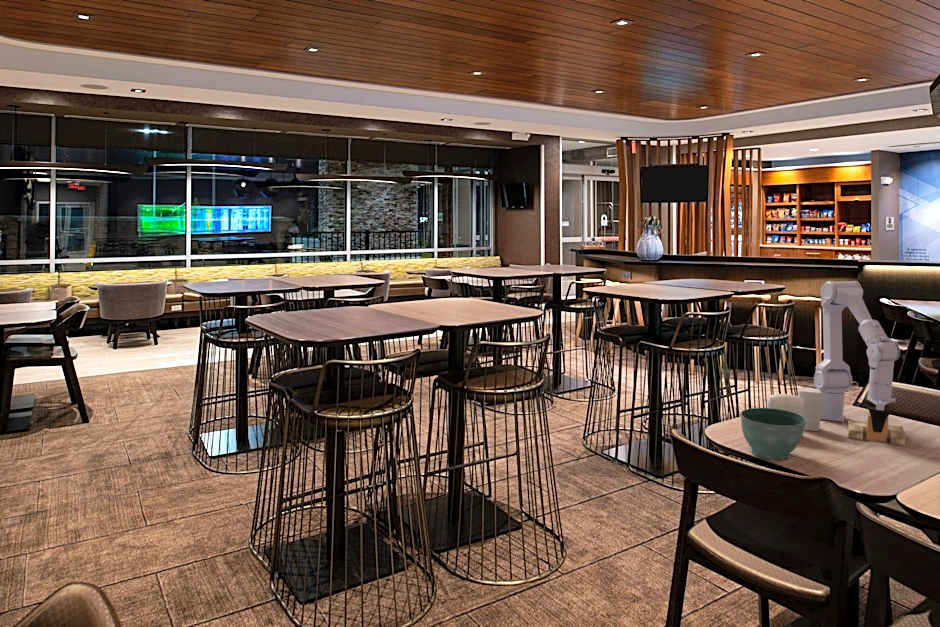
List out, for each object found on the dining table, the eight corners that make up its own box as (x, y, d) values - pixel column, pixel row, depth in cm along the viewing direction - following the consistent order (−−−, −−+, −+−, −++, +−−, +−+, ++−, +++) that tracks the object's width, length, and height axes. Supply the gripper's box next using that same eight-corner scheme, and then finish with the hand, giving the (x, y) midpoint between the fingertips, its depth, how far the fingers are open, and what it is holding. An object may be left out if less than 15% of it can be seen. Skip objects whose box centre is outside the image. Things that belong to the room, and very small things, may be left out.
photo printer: (801, 434, 205) (804, 393, 204) (803, 438, 201) (806, 397, 200) (763, 431, 208) (766, 391, 207) (765, 435, 204) (767, 394, 203)
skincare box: (817, 427, 212) (820, 389, 210) (819, 431, 208) (822, 392, 206) (795, 425, 214) (798, 387, 212) (797, 429, 210) (799, 391, 208)
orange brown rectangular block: (866, 439, 201) (868, 415, 200) (865, 436, 204) (867, 413, 203) (886, 441, 199) (888, 418, 198) (885, 438, 201) (887, 415, 200)
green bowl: (803, 469, 178) (806, 428, 176) (736, 459, 184) (738, 420, 183) (802, 449, 192) (805, 411, 191) (740, 441, 199) (742, 405, 197)
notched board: (848, 438, 202) (849, 429, 201) (848, 427, 211) (848, 419, 211) (904, 445, 195) (905, 436, 195) (901, 434, 205) (902, 426, 205)
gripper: (898, 389, 191) (894, 437, 193) (895, 378, 203) (891, 423, 205) (869, 387, 194) (865, 433, 196) (867, 376, 207) (863, 420, 208)
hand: (876, 428), depth 201 cm, fingers open, 7 cm apart
